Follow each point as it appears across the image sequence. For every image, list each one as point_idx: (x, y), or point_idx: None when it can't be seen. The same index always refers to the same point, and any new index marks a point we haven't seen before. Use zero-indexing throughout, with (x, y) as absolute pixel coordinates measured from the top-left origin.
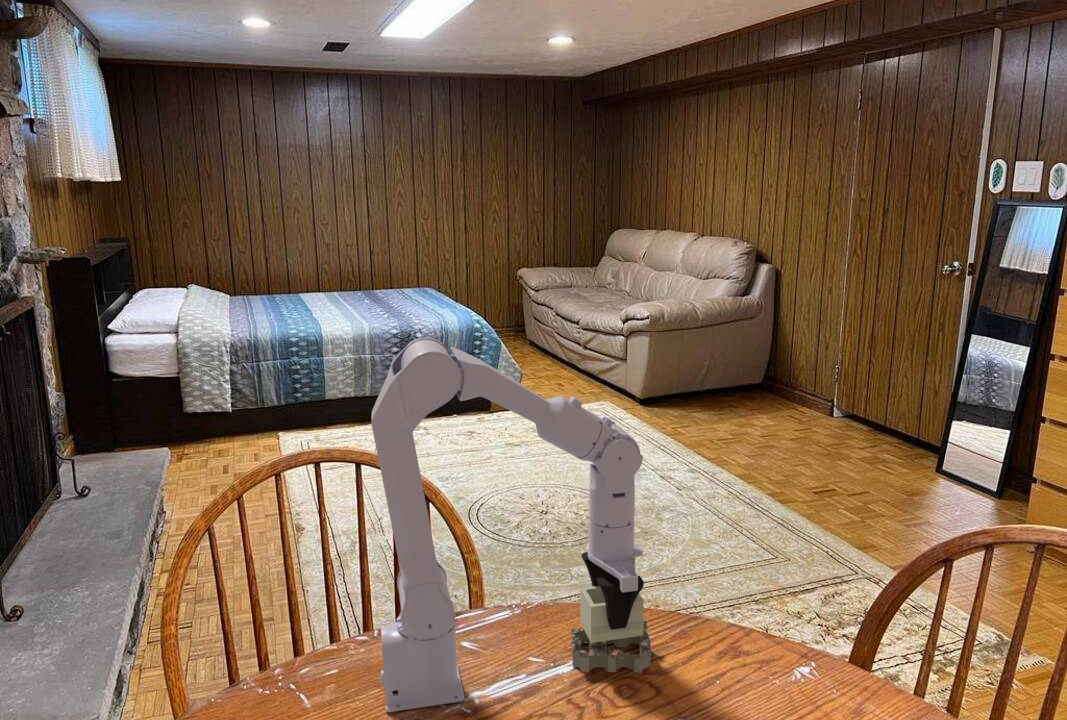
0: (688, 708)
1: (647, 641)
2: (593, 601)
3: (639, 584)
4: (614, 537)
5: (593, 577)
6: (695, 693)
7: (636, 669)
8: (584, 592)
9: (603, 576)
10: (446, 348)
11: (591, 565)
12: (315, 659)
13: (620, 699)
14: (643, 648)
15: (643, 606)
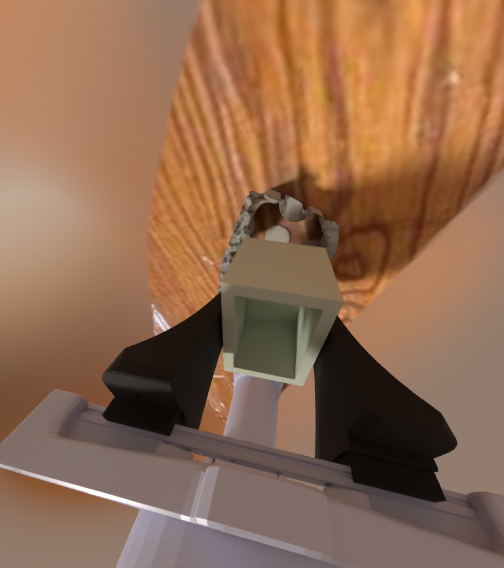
0: (459, 202)
1: (284, 202)
2: (240, 333)
3: (452, 449)
4: None
5: (213, 371)
6: (439, 164)
7: (322, 239)
8: (243, 372)
9: (212, 356)
10: None
11: (200, 410)
12: (207, 405)
13: (361, 281)
14: (301, 220)
15: (339, 289)
